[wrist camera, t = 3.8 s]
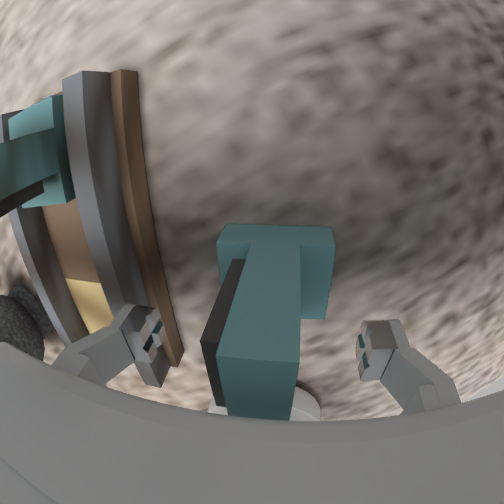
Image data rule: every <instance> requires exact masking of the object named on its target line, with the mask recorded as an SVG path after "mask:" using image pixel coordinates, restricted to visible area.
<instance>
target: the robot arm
mask: <svg viewBox="0 0 504 504" xmlns="http://www.w3.org/2000/svg"><path fill="white" fill-rule="evenodd" d="M160 317H161V314H160V311H159V309H157V308H153V307H147V306H141V305H133V304H125V305H124V306H123V307H122V309H121V310H120V311H119V313H118V314H117V316H116V317H115V318H114V320H113V321H112V322H111V324H110V325H109V326H108V327H106V326H105V327H103V328H101V329H99V330H97V331H95V332H94V333H92V334H90V335H88V336H86V337H84V338H82V339H80V340H78V341H76V342H74V343H72V344H70V345H68V346H67V347H65V348H64V349H63V350H62V352H61V353H60V354H59V356H58V357H57V359H56V360H55V361H54V363H53V364H52V365H49V364H47V363H45V362H43V361H41V360H39V359H36V358H34V357H32V356H30V355H28V354H27V353H25V352H23V351H21V350H19V349H17V348H15V347H14V346H12V345H10V344H8V343H6V342H0V504H504V390H502V391H499V392H496V393H494V394H490V395H487V396H484V397H481V398H478V399H474V400H471V401H467V402H463V403H461V401H460V398H459V395H458V392H457V389H456V387H455V384H454V381H453V379H452V378H451V377H449V376H448V375H447V374H446V373H444V372H443V371H442V370H441V369H440V368H438V367H437V366H436V365H435V364H433V363H432V362H431V361H430V360H428V359H427V358H426V357H425V356H423V355H422V354H421V353H420V352H418V351H417V350H416V349H415V348H410V345H409V342H408V340H407V337H406V334H405V332H404V329H403V327H402V324H401V322H400V320H399V319H393V320H363V322H362V324H361V327H360V329H361V334H360V335H359V336H358V338H357V341H356V358H357V360H358V361H359V362H360V363H359V366H358V370H359V376H360V381H363V380H380V381H381V383H382V384H383V385H384V386H385V387H386V389H387V390H388V391H389V392H390V393H391V395H392V396H393V397H394V398H395V399H396V401H397V402H398V403H399V404H400V405H401V407H402V408H403V409H404V410H403V411H402V413H401V414H400V415H398V416H390V417H381V418H371V419H358V420H340V421H288V420H270V419H257V418H246V417H238V416H230V415H222V414H215V413H209V412H203V411H197V410H192V409H187V408H182V407H177V406H172V405H168V404H164V403H160V402H155V401H151V400H148V399H144V398H140V397H137V396H133V395H130V394H126V393H123V392H120V391H117V390H113V389H110V388H108V387H107V386H106V383H107V382H108V381H110V380H111V379H112V378H113V377H115V376H116V375H117V374H119V373H120V372H121V371H123V370H124V369H125V368H127V367H128V366H129V365H131V364H132V363H133V362H134V361H135V360H136V361H141V362H147V363H153V361H154V359H155V357H156V355H157V353H158V351H157V347H159V346H160V345H162V343H163V341H164V337H165V327H164V324H163V323H162V322H161V321H160V320H159V318H160Z"/></svg>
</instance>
